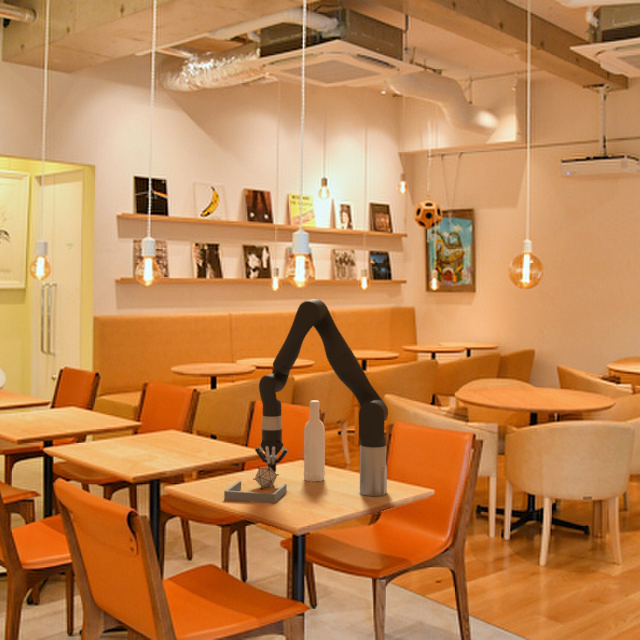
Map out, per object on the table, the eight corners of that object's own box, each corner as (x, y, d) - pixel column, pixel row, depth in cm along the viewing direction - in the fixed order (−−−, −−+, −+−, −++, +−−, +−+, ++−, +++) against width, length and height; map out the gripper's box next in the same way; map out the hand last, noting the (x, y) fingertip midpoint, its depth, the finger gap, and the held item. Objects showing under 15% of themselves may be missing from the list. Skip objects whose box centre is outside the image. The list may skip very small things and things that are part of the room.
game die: (270, 498, 304) (277, 480, 299) (248, 490, 304) (255, 472, 299) (276, 481, 312) (283, 463, 306) (254, 473, 312) (261, 455, 306)
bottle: (319, 483, 313) (319, 403, 312) (300, 480, 316) (300, 401, 315) (328, 478, 320) (328, 400, 319) (309, 476, 324) (310, 398, 322)
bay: (286, 492, 299) (286, 484, 299) (274, 503, 284) (274, 494, 284) (238, 489, 303) (238, 480, 303) (224, 499, 289) (224, 491, 288)
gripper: (291, 426, 314) (291, 472, 315) (258, 425, 317) (257, 470, 318) (286, 430, 306) (286, 477, 307) (251, 428, 309) (251, 474, 310)
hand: (271, 473), depth 312 cm, fingers closed
